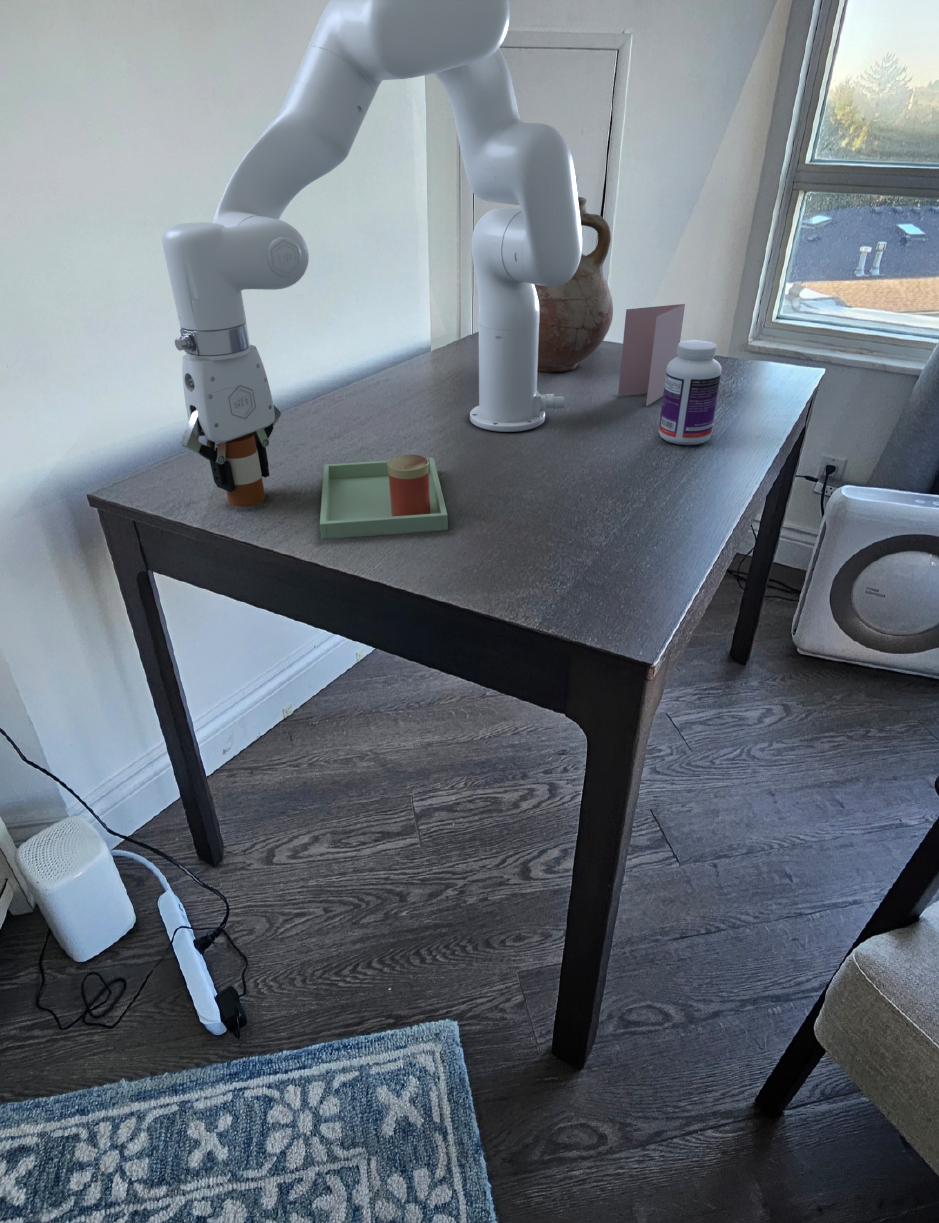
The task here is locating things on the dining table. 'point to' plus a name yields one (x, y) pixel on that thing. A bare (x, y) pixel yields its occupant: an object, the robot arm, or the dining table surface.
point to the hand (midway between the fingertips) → (243, 480)
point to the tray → (372, 502)
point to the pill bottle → (690, 394)
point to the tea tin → (409, 485)
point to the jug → (576, 306)
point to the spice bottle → (245, 471)
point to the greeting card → (649, 349)
